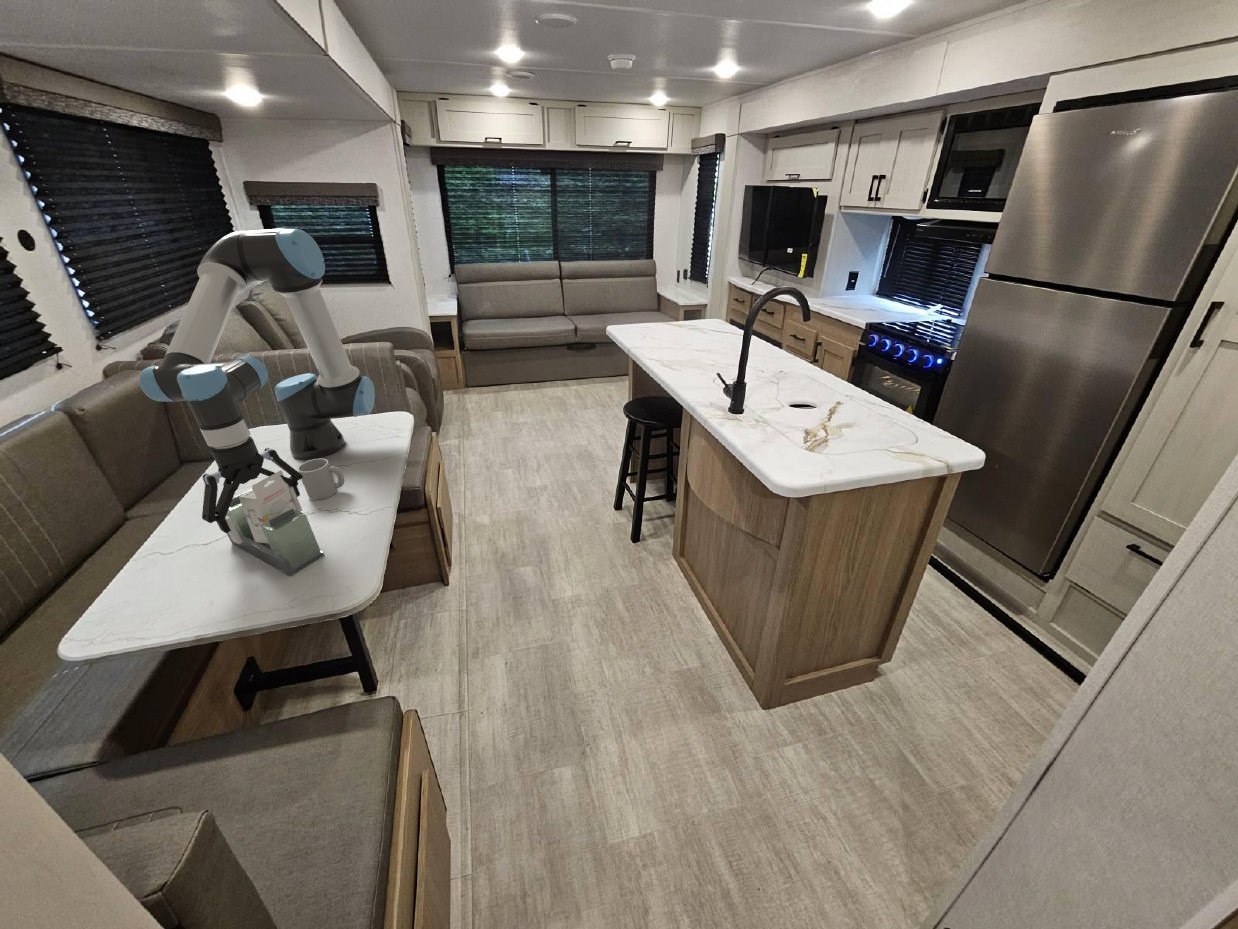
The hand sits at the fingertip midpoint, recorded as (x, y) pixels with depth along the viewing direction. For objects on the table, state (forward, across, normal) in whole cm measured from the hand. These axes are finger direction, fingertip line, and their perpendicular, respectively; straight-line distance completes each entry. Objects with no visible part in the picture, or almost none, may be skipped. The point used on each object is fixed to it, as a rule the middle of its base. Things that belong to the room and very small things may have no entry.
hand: (268, 525), depth 118 cm
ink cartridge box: (+3, -1, 0) cm, 3 cm away
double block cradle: (+7, 0, 0) cm, 7 cm away
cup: (+7, -20, -12) cm, 25 cm away
